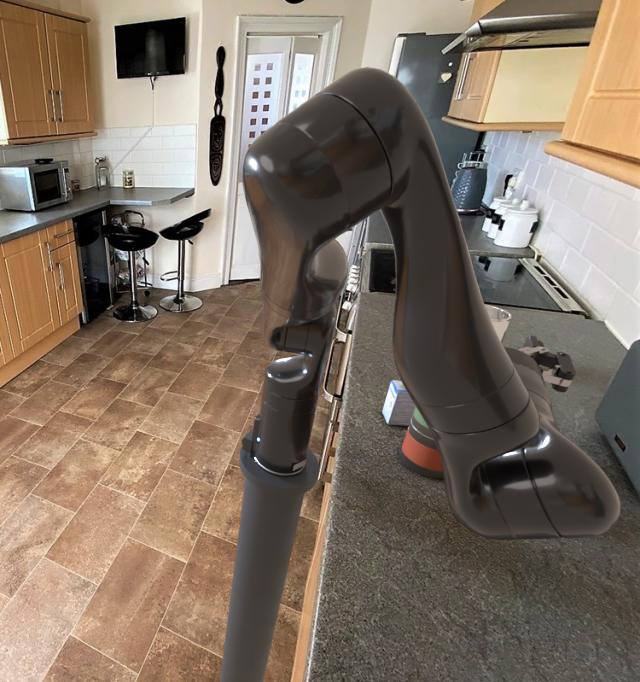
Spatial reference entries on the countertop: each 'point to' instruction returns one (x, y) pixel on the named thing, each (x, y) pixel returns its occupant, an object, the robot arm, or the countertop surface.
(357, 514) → the countertop surface
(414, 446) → the tin stack
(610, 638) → the countertop surface
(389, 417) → the medicine box
